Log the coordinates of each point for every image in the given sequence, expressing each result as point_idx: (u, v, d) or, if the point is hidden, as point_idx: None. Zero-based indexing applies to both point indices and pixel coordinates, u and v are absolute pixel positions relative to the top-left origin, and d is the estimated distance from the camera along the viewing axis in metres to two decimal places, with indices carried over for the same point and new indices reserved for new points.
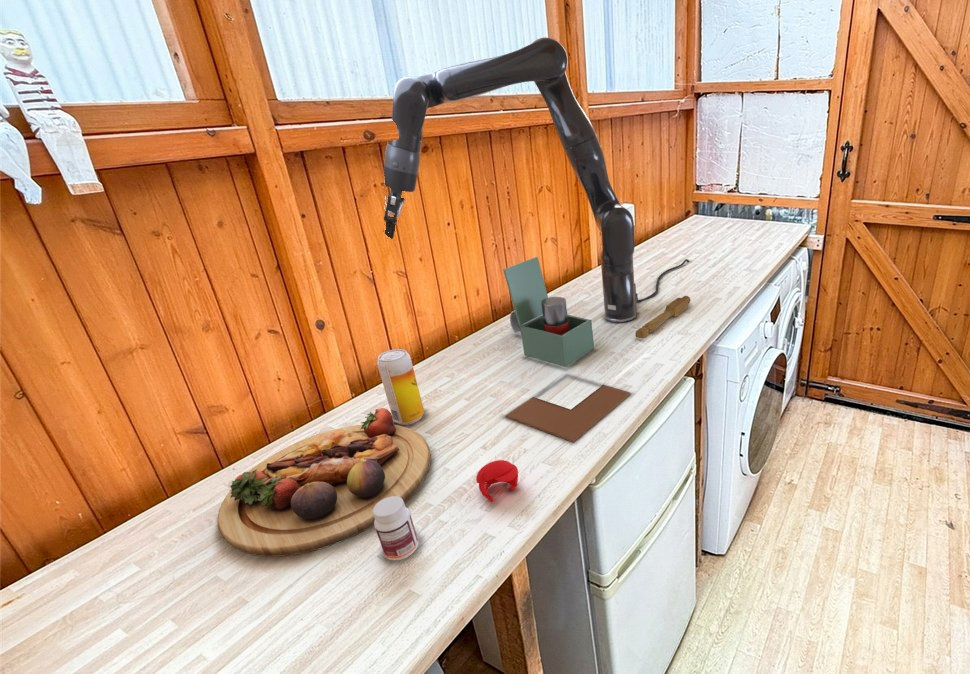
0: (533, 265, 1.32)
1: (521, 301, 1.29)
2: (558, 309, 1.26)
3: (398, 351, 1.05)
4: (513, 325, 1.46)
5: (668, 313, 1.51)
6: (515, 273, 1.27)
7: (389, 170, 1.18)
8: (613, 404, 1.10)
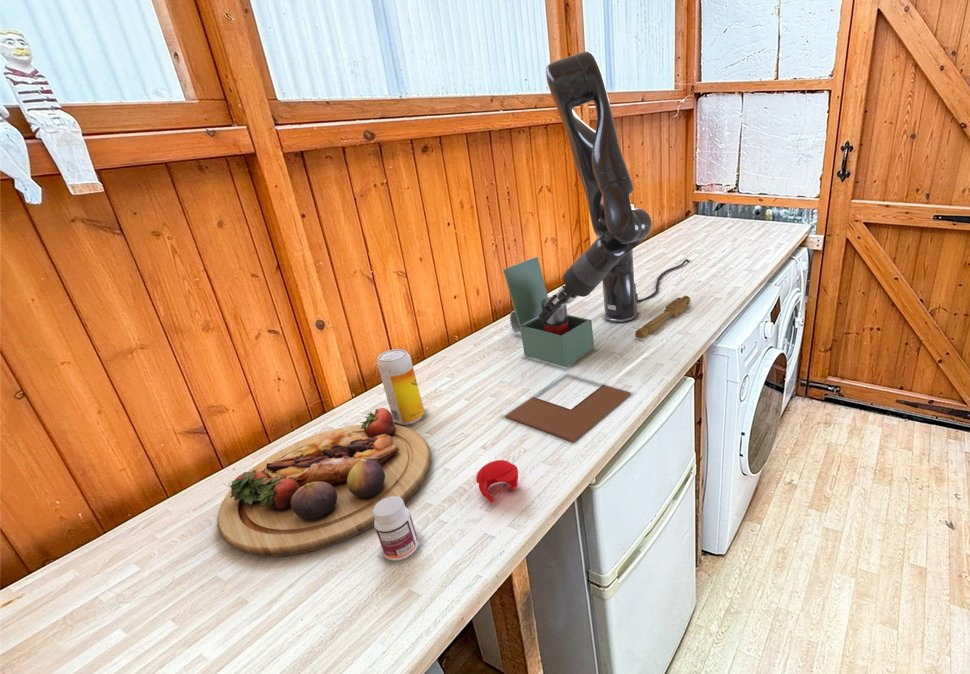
0: (533, 265, 1.32)
1: (521, 301, 1.29)
2: (558, 309, 1.26)
3: (398, 351, 1.05)
4: (513, 325, 1.46)
5: (668, 313, 1.51)
6: (515, 273, 1.27)
7: None
8: (613, 404, 1.10)
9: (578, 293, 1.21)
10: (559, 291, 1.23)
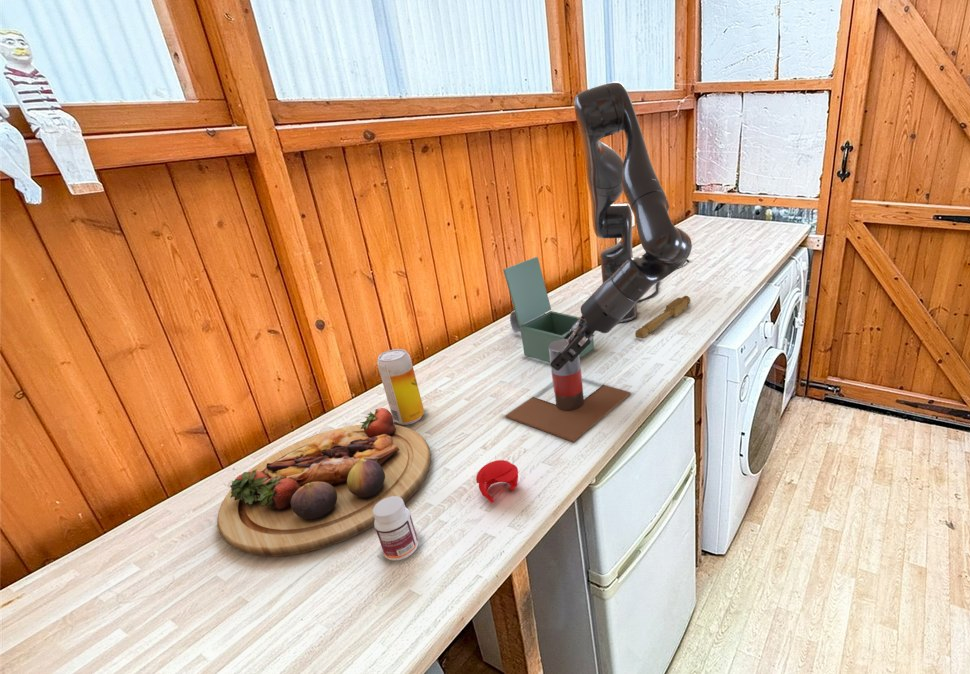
0: (533, 265, 1.32)
1: (521, 301, 1.29)
2: None
3: (398, 351, 1.05)
4: (513, 325, 1.46)
5: (668, 313, 1.51)
6: (515, 273, 1.27)
7: None
8: (613, 404, 1.10)
9: (604, 330, 1.01)
10: (576, 330, 1.01)
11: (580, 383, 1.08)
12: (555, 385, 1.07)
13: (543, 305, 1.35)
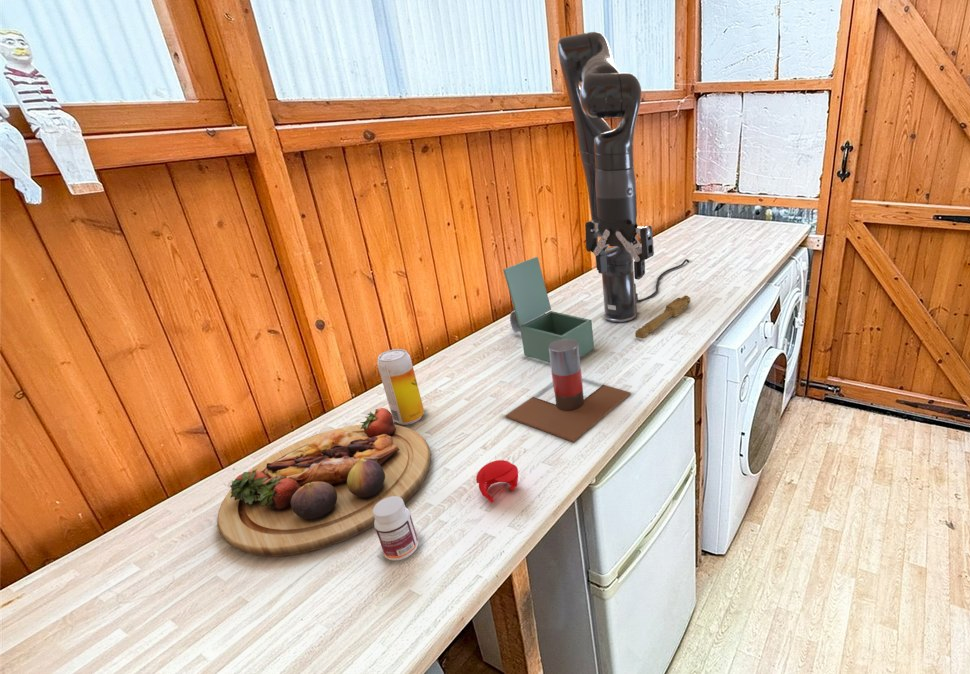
0: (533, 265, 1.32)
1: (521, 301, 1.29)
2: (573, 355, 1.04)
3: (398, 351, 1.05)
4: (513, 325, 1.46)
5: (668, 313, 1.51)
6: (515, 273, 1.27)
7: (625, 200, 0.94)
8: (613, 404, 1.10)
9: (597, 213, 0.98)
10: None
11: (580, 383, 1.08)
12: (555, 385, 1.07)
13: (543, 305, 1.35)
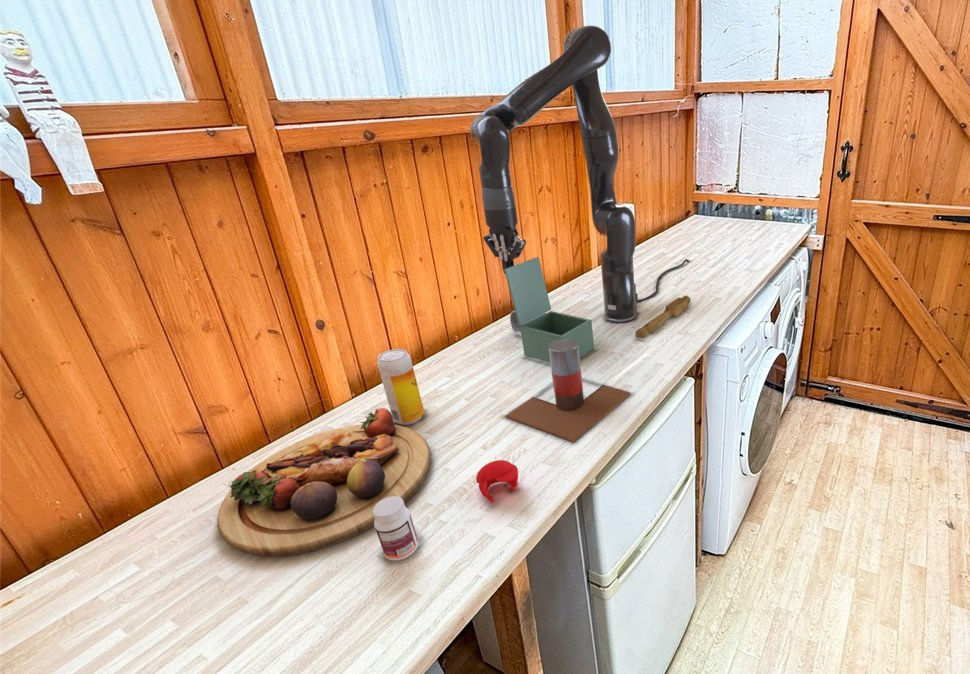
0: (534, 265, 1.32)
1: (522, 301, 1.29)
2: (573, 355, 1.04)
3: (398, 351, 1.05)
4: (513, 325, 1.46)
5: (668, 313, 1.51)
6: (516, 273, 1.27)
7: (503, 211, 1.22)
8: (613, 404, 1.10)
9: None
10: None
11: (580, 383, 1.08)
12: (555, 385, 1.07)
13: (543, 305, 1.35)
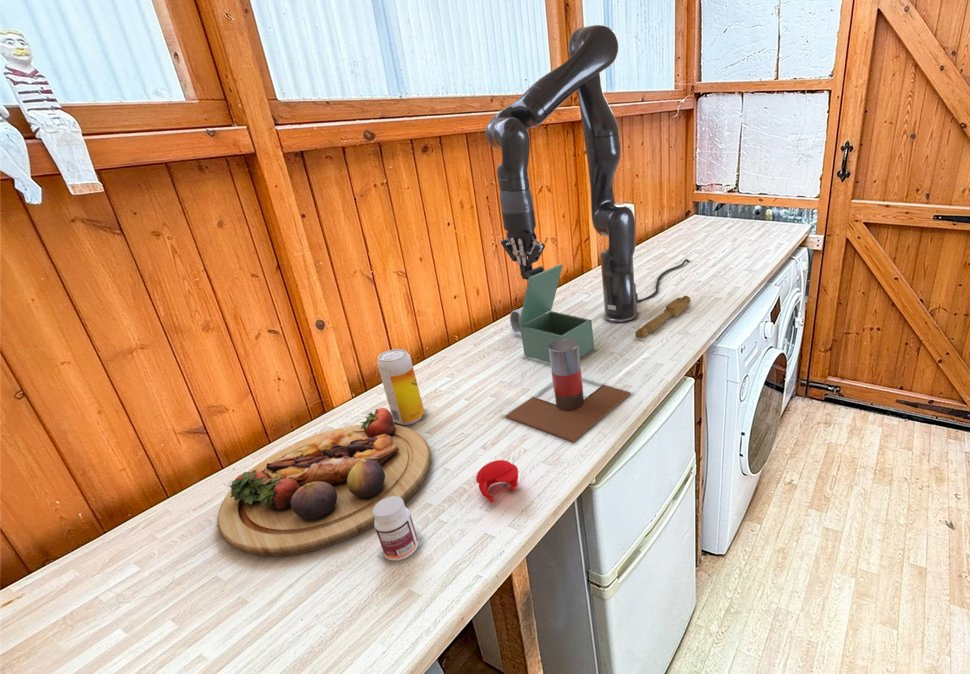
0: (555, 273, 1.29)
1: (531, 305, 1.28)
2: (573, 355, 1.04)
3: (398, 351, 1.05)
4: (513, 325, 1.46)
5: (668, 313, 1.51)
6: (537, 281, 1.24)
7: (522, 215, 1.20)
8: (613, 404, 1.10)
9: None
10: None
11: (580, 383, 1.08)
12: (555, 385, 1.07)
13: (546, 307, 1.35)
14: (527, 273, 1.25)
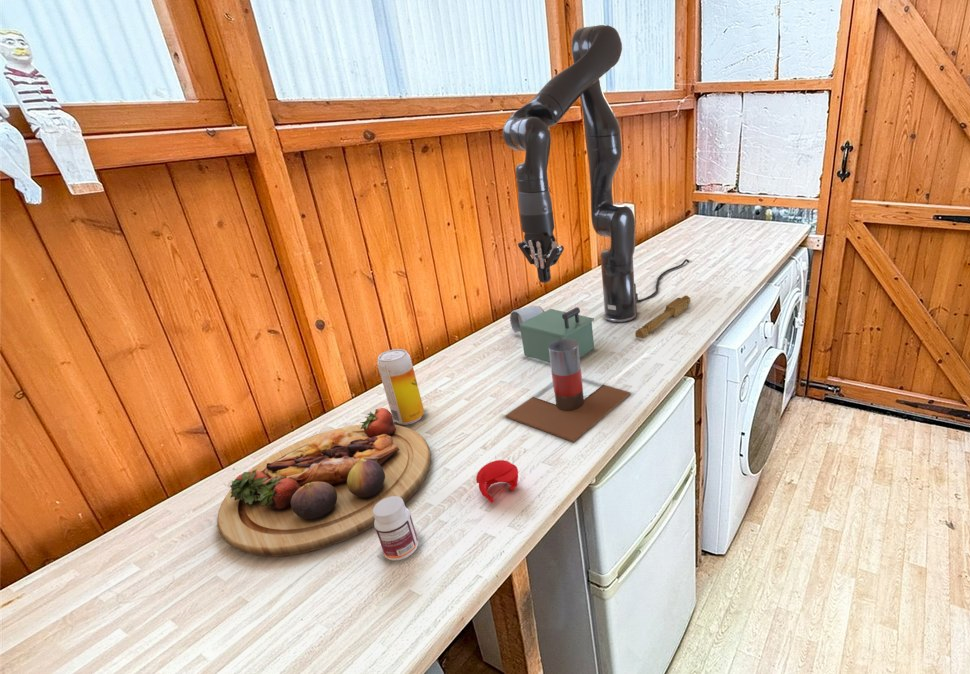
0: None
1: None
2: (573, 355, 1.04)
3: (398, 351, 1.05)
4: (513, 325, 1.46)
5: (668, 313, 1.51)
6: None
7: (541, 217, 1.17)
8: (613, 404, 1.10)
9: None
10: None
11: (580, 383, 1.08)
12: (555, 385, 1.07)
13: None
14: (565, 316, 1.24)
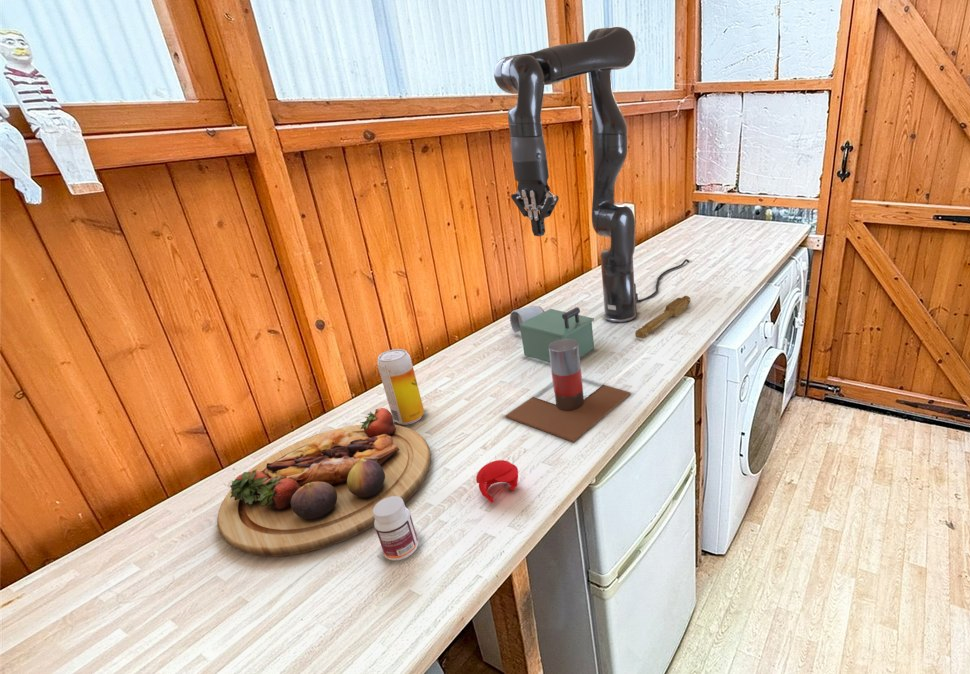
0: None
1: None
2: (573, 355, 1.04)
3: (398, 351, 1.05)
4: (513, 325, 1.46)
5: (668, 313, 1.51)
6: None
7: (534, 163, 1.12)
8: (613, 404, 1.10)
9: None
10: None
11: (580, 383, 1.08)
12: (555, 385, 1.07)
13: None
14: (565, 316, 1.24)
